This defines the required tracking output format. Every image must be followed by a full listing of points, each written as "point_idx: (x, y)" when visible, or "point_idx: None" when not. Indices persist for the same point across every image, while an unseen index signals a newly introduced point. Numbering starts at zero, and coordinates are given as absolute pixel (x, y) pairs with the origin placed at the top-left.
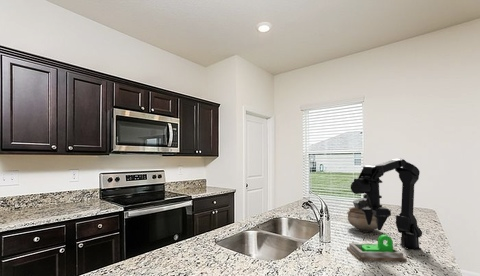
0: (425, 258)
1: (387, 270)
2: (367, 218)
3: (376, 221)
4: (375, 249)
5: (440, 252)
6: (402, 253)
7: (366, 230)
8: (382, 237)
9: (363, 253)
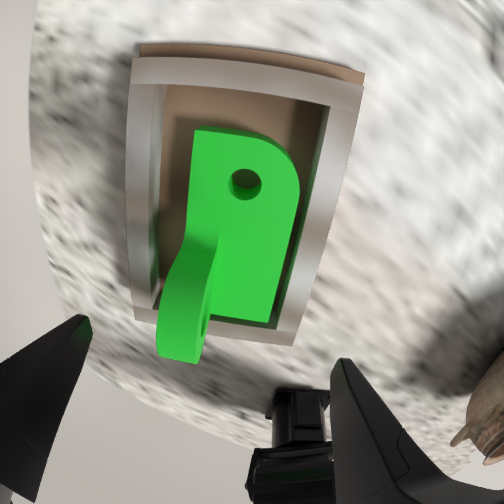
0: (179, 378)
1: (37, 146)
2: (357, 426)
3: (11, 377)
4: (190, 208)
5: (235, 433)
6: (134, 315)
7: (498, 357)
8: (158, 312)
9: (132, 79)
